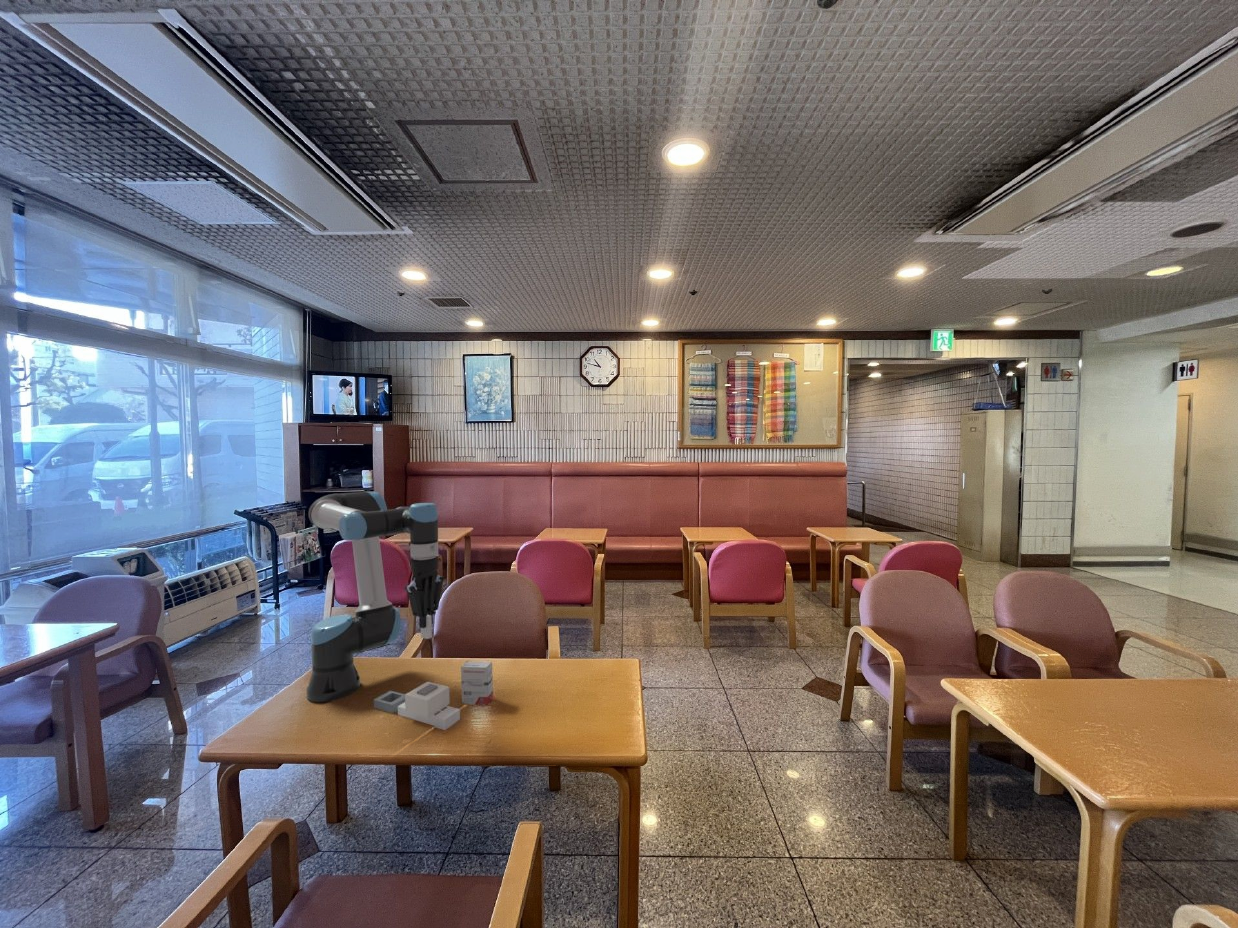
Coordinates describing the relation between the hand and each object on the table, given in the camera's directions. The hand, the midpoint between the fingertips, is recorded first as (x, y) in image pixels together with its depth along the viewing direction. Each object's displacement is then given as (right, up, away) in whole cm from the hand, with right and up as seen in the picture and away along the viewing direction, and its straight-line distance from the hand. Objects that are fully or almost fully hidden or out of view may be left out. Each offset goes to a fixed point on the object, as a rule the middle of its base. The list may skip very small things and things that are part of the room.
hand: (426, 637), depth 143 cm
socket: (0, -24, +1) cm, 24 cm away
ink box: (+12, -24, +10) cm, 28 cm away
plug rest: (-13, -24, +7) cm, 28 cm away
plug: (0, -23, +1) cm, 23 cm away
